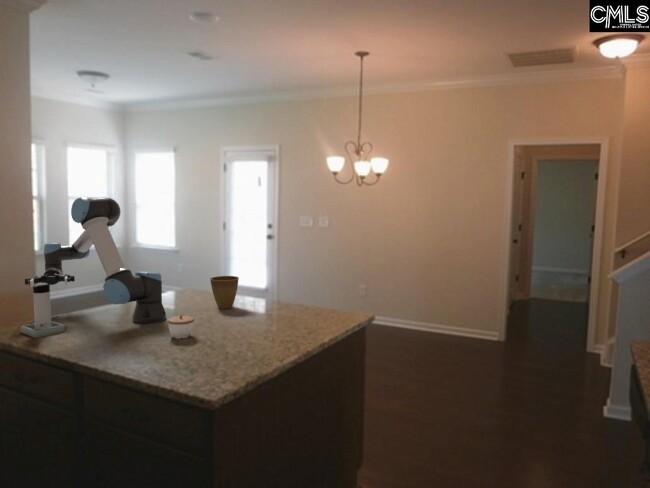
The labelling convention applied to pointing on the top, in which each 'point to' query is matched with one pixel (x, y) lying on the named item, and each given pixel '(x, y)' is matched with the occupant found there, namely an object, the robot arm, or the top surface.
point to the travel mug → (42, 306)
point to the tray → (32, 332)
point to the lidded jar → (180, 326)
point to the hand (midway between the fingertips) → (48, 282)
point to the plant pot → (224, 290)
